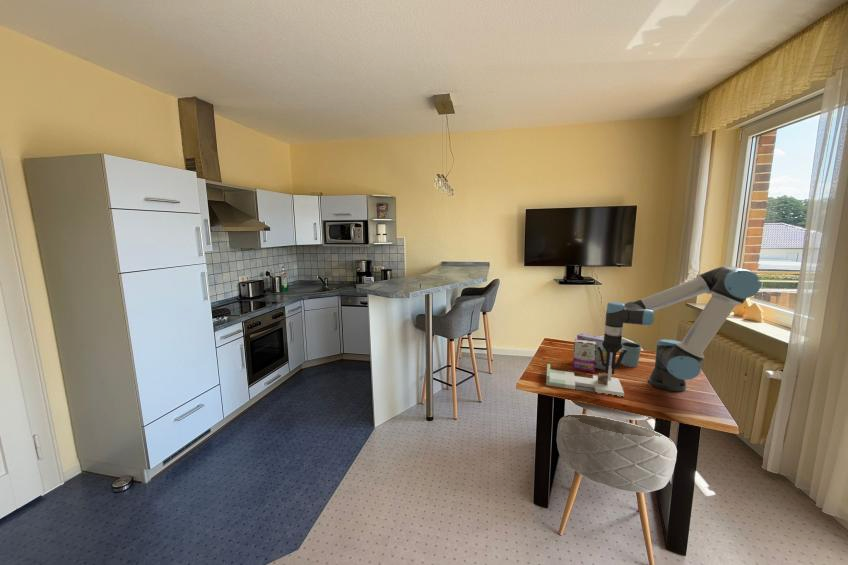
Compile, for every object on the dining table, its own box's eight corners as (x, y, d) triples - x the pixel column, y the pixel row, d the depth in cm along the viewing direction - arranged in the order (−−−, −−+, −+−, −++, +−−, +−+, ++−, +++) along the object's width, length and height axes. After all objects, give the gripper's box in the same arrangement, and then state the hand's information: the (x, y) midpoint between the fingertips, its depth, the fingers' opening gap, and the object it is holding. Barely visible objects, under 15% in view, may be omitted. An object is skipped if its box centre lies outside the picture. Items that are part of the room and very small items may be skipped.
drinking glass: (643, 367, 193) (645, 347, 191) (624, 367, 193) (626, 347, 191) (632, 361, 203) (634, 341, 201) (615, 360, 203) (617, 341, 201)
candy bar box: (594, 369, 191) (596, 341, 188) (594, 372, 186) (596, 344, 184) (573, 365, 196) (575, 338, 193) (572, 369, 192) (574, 341, 189)
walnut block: (606, 381, 171) (606, 374, 170) (607, 385, 167) (608, 377, 167) (597, 380, 172) (598, 373, 172) (598, 383, 169) (598, 376, 168)
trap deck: (618, 382, 175) (619, 373, 174) (623, 396, 160) (624, 386, 159) (547, 372, 187) (547, 363, 186) (546, 385, 172) (546, 375, 171)
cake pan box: (573, 362, 201) (575, 333, 198) (577, 360, 205) (579, 331, 202) (608, 372, 187) (610, 341, 184) (611, 369, 190) (614, 339, 188)
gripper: (598, 334, 164) (594, 380, 167) (630, 337, 159) (625, 385, 163) (597, 330, 171) (593, 374, 174) (627, 333, 166) (622, 378, 170)
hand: (608, 379), depth 169 cm, fingers closed
